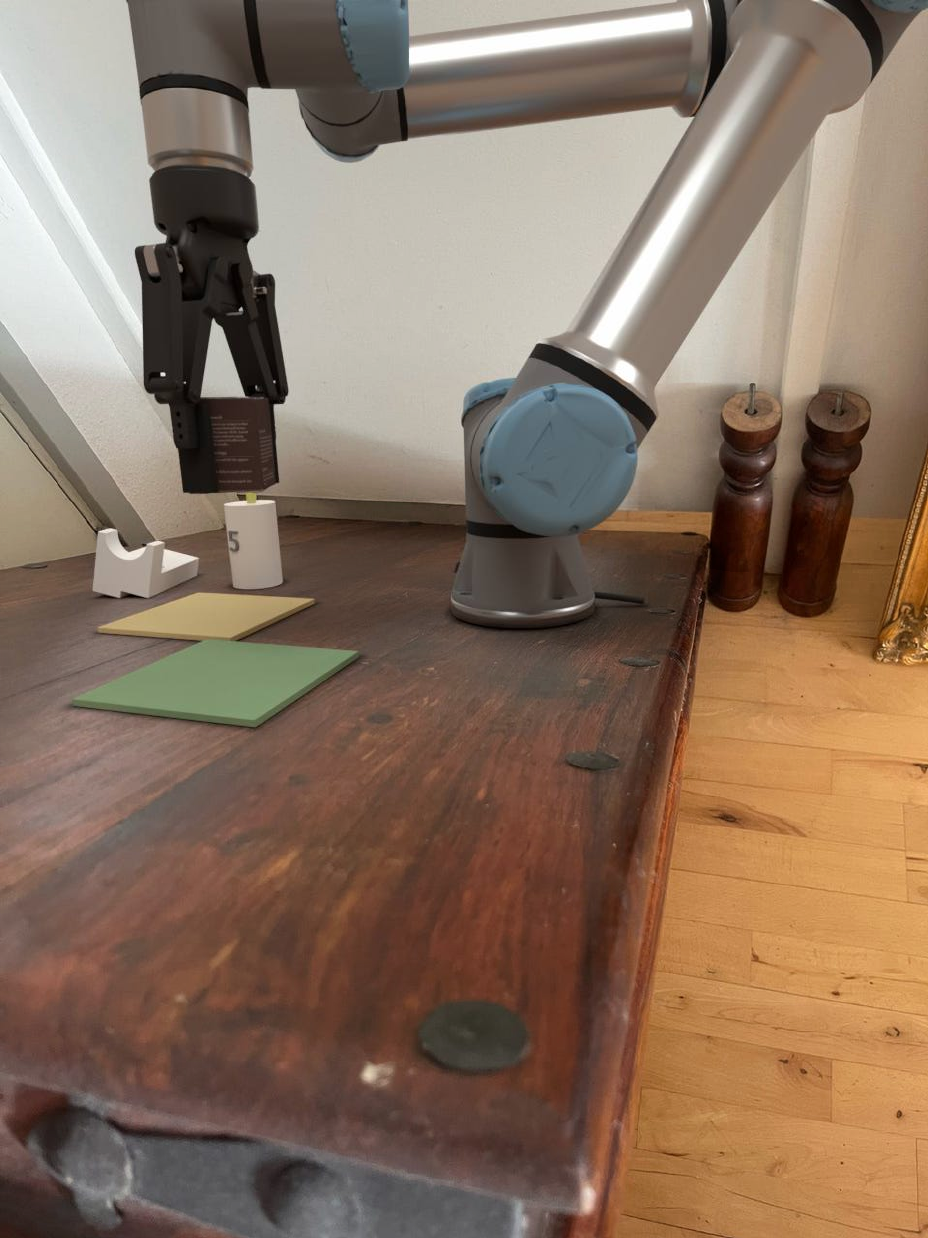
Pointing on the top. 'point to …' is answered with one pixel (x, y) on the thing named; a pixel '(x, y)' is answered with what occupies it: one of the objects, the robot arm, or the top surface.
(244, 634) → the cream mat
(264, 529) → the candle
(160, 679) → the green mat
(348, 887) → the top surface
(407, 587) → the top surface
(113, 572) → the bracket
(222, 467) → the box
